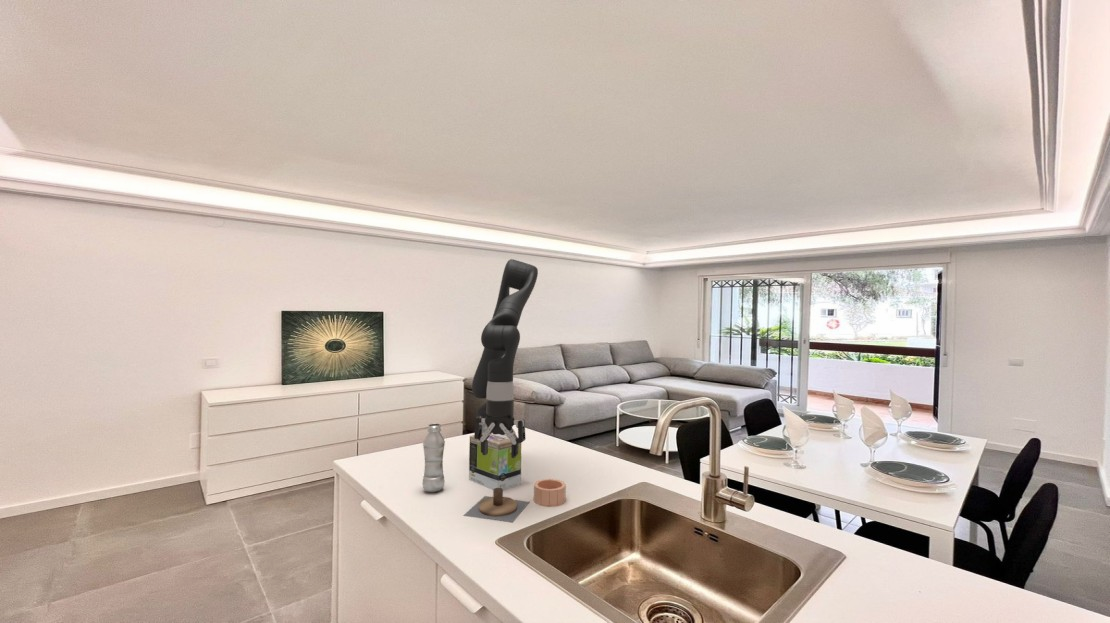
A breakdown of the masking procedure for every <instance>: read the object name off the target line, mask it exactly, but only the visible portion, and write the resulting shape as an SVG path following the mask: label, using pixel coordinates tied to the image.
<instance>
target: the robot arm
mask: <svg viewBox="0 0 1110 623" xmlns="http://www.w3.org/2000/svg"><path fill="white" fill-rule="evenodd" d="M538 271H539V269H538V267H537V266H535V265H533V264H530V263H526V262H524V261H520V260H517V259H513V258H511V259H509V260H508V261H507V262H506V264H505V266H504V269H503V272H502V273H503V274H502V277H501V281H500V286H499V290H498V297H497V301H496V305H495V308H494V312H493V315H492V317H491V320H489V321H488V323H487V324H486V325H485V326H484V328H483V330H482V332H481V338H480V341H481V345H482V346H483V350H482V354H481V357H480V360H479V362H478V365H477V368H476V370H475V373H474V375H473V379H472V383H471V384H472V385H471V391H472V395H473V396H474V397H475V398H477V399H486V400H485V403H484V404H482V405H481V406H479V407H478V408H477V409H476V418H475V420H474V421H475V422H474V438H475V439H479V440H480V441H481V453H482V454H483V455H487V454H488V440H487V439H488V437H489V436H490V435H491V434H492V433H493V434H500V435H506V436H507V437H508V438H509V439H510V440H511V442H512V443H513V444H512V448H511V458H515V457H516V456H517V455H518V448H519V443H521V444H523V442H524V441H526V438H527V437H526V422H525V419H523V418H521V419H515V418H514V415H515V414H514V413H515V412H514V407H515V406H514V405H515V404H514V403H515V400H514V399H515V393H514V392H515V388H514V387H515V386H514V363H515V358H516V355H517V351H518V348H519V345H520V340H521V333H520V331H519V330H520V329H518V325H519V323H520V319H521V316H522V313H523V310H524V308H525V306H526V304H527V303H528V301H529V298H530V297H531V295H532V292H533V291H534V289H535V285H536V283H537V279H538V274H539V272H538ZM510 289H514V290H517V291H516V292H513V293H512V294H510ZM514 426H515V427H516V428H517V434H516V431H515V430H514V428H513V427H514ZM482 433H484V434H483V435H482Z"/></svg>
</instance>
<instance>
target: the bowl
mask: <svg viewBox="0 0 1110 623" xmlns="http://www.w3.org/2000/svg"><path fill="white" fill-rule="evenodd" d="M566 489H567V484H566V483H565V481H562V480H560V479H556V478H555V479H554V478H545V479H544V478H543V479H540V480H536V481H535V482H534V483H533V501H534V503H535V504H537V505H538V506H542V507H558V506H561V505H563V504H564V503H565V502H566V498H567V495H566V493H567V490H566Z"/></svg>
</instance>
